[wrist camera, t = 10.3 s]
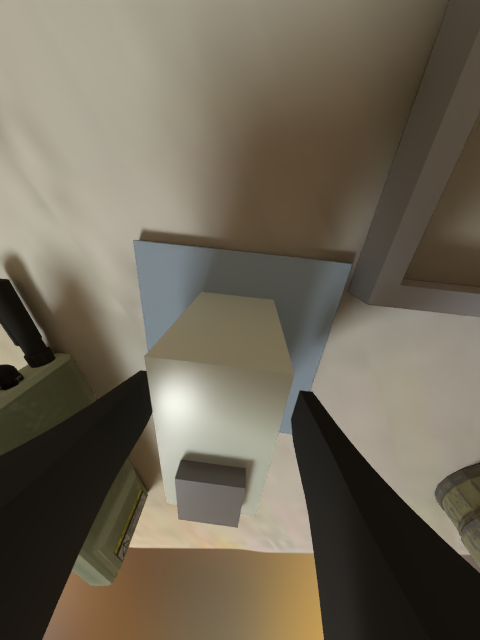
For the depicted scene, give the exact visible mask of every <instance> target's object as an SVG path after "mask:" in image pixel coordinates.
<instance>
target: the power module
mask: <svg viewBox="0 0 480 640" xmlns="http://www.w3.org/2000/svg"><path fill="white" fill-rule="evenodd" d="M144 357H145V364H146V370H147V377H148V384H149V391H150V397H151V404H152V411H153V417H154V424H155V431H156V438H157V444H158V451H159V458H160V464H161V471H162V478H163V485H164V491H165V498H166V503H167V504H174V505H177V508H178V518H179V519H180V520H187V521H194V522H202V523H209V524H216V525H223V526H230V527H237V528H238V523H239V518H240V514H246V515H253V516H256V513H257V509H258V506H259V502H260V498H261V495H262V491H263V487H264V484H265V480H266V477H267V473H268V469H269V466H270V462H271V458H272V455H273V451H274V448H275V444H276V440H277V437H278V433H279V429H280V426H281V422H282V418H283V415H284V411H285V408H286V404H287V400H288V397H289V393H290V389H291V386H292V382H293V378H294V375H295V374H294V370H293V367H292V363H291V360H290V356H289V352H288V349H287V345H286V342H285V338H284V334H283V331H282V327H281V324H280V320H279V317H278V313H277V309H276V306H275V302H274V300H271V299H262V298H253V297H244V296H235V295H226V294H217V293H208V292H201V293H200V294H199V295H198V296H197V297H196V299H195V300H194V301H193V302H192V303H191V304H190V305H189V307H188V308H187V309H186V310H185V311H184V312H183V313H182V314H181V316H180V317H179V318H178V319H177V320H176V321H175V322H174V323H173V325H172V326H171V327H170V328H169V329H168V330H167V331H166V332H165V334H164V335H163V336H162V337H161V338H160V339H159V340H158V341H157V343H156V344H155V345H154V346H153V347H152V348H151V349H150V351H149V352H148V353H147V354H146V355H145V356H144Z"/></svg>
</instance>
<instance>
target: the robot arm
mask: <svg viewBox="0 0 480 640" xmlns="http://www.w3.org/2000/svg"><path fill="white" fill-rule="evenodd" d="M152 412H153V411H152V404H151V397H150V391H149V384H148V377H147V371H142V370H141V371H139V372H138V373H136V374H135V375H133V376H132V377H130V378H129V379H127V380H126V381H124V382H123V383H121V384H120V385H119V386H117V387H116V388H114V389H113V390H111V391H110V392H108V393H107V394H105V395H104V396H102V397H101V398H99V399H98V400H96V401H95V402H93V403H92V404H90V405H89V406H87V407H85V408H84V409H82V410H81V411H79V412H77V413H76V414H74V415H73V416H71V417H69V418H68V419H66V420H65V421H63V422H61V423H60V424H58V425H56V426H54V427H53V428H51V429H49V430H47V431H46V432H44V433H42V434H40V435H38V436H37V437H35V438H33V439H31V440H29V441H28V442H26V443H24V444H22V445H20V446H18V447H16V448H14V449H12V450H10V451H8V452H6V453H4V454H2V455H0V640H42V639H43V636H44V634H45V632H46V629H47V627H48V624H49V622H50V620H51V617H52V615H53V612H54V610H55V607H56V605H57V603H58V600H59V598H60V596H61V594H62V591H63V589H64V587H65V584H66V582H67V580H68V578H69V575H70V573H71V571H72V569H73V566H74V564H75V562H76V560H77V557H78V555H79V553H80V551H81V548H82V546H83V544H84V542H85V540H86V538H87V536H88V533H89V531H90V529H91V527H92V525H93V523H94V521H95V518H96V516H97V514H98V512H99V510H100V508H101V506H102V504H103V502H104V500H105V498H106V496H107V494H108V492H109V490H110V488H111V486H112V484H113V482H114V480H115V478H116V476H117V475H118V473H119V471H120V470H121V468H122V466H123V464H124V463H125V461H126V459H127V458H128V456H129V454H130V452H131V451H132V449H133V447H134V446H135V444H136V442H137V440H138V439H139V437H140V435H141V433H142V432H143V430H144V428H145V426H146V425H147V423H148V421H149V419H150V416H151V414H152ZM291 427H292V436H293V443H294V448H295V453H296V458H297V462H298V467H299V471H300V476H301V481H302V485H303V490H304V494H305V499H306V504H307V509H308V515H309V522H310V529H311V536H312V543H313V550H314V558H315V565H316V573H317V581H318V589H319V598H320V607H321V615H322V625H323V633H324V640H480V573H479V572H478V571H477V570H476V569H475V568H473V567H472V566H471V565H470V564H469V563H468V562H467V561H466V560H465V559H464V558H462V557H461V556H460V555H459V554H458V553H457V552H456V551H455V550H454V549H453V548H452V547H451V546H450V545H448V544H447V543H446V542H445V541H444V540H443V539H442V538H441V537H440V536H439V535H438V534H437V533H436V532H435V531H434V530H433V529H432V528H431V527H430V526H429V525H428V524H427V523H426V522H425V521H423V520H422V519H421V518H420V517H419V516H418V515H417V514H416V513H415V512H414V511H413V510H412V509H411V508H410V507H409V506H408V505H407V504H406V503H405V502H404V501H403V500H402V499H401V498H400V497H399V496H398V494H397V493H396V492H395V491H394V490H393V489H392V488H391V487H390V486H389V485H388V484H387V483H386V482H385V481H384V480H383V479H382V478H381V476H380V475H379V474H378V473H377V472H376V471H375V470H374V469H373V468H372V467H371V465H370V464H369V463H368V462H367V461H366V460H365V458H364V457H363V456H362V455H361V454H360V453H359V451H358V450H357V449H356V448H355V447H354V445H353V444H352V443H351V442H350V441H349V439H348V438H347V437H346V435H345V434H344V433H343V432H342V430H341V429H340V428H339V427H338V425H337V424H336V423H335V421H334V420H333V419H332V417H331V416H330V415H329V413H328V412H327V411H326V409H325V408H324V407H323V405H322V404H321V403H320V401H319V400H318V399H317V397H316V396H315V395H314V393H313V392H310V391H302V390H300V391H299V394H298V397H297V401H296V404H295V407H294V410H293V414H292V417H291Z"/></svg>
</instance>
